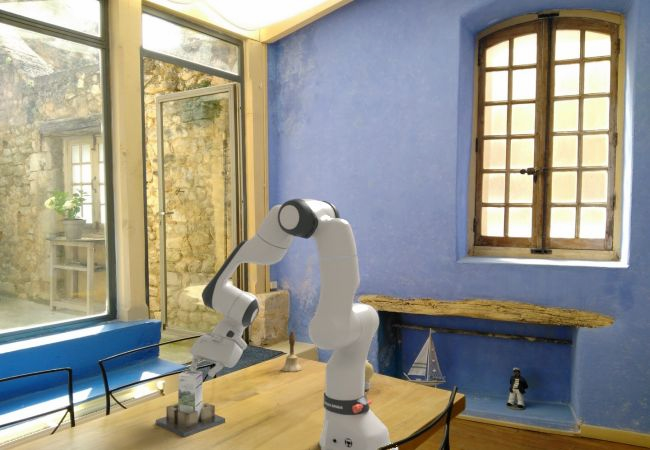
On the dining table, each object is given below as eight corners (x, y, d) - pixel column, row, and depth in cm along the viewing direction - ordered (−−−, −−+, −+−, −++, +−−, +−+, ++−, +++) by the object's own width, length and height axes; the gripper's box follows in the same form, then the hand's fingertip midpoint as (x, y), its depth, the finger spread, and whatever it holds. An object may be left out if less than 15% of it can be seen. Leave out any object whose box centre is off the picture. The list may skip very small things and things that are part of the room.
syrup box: (203, 416, 166) (203, 370, 166) (195, 423, 161) (195, 376, 160) (186, 415, 167) (186, 369, 167) (177, 422, 162) (177, 374, 161)
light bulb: (372, 392, 194) (372, 365, 193) (355, 391, 195) (355, 364, 195) (374, 386, 200) (374, 360, 200) (357, 385, 201) (357, 359, 201)
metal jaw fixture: (225, 422, 165) (225, 405, 165) (184, 437, 154) (184, 419, 153) (196, 410, 175) (196, 394, 175) (155, 423, 163) (155, 407, 163)
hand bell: (280, 366, 226) (281, 329, 225) (300, 365, 227) (300, 328, 227) (282, 372, 217) (283, 333, 217) (302, 371, 219) (303, 333, 218)
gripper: (200, 326, 179) (175, 361, 171) (240, 335, 165) (214, 373, 158) (211, 337, 182) (187, 372, 175) (251, 346, 169) (226, 384, 162)
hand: (200, 372), depth 166 cm, fingers open, 8 cm apart
